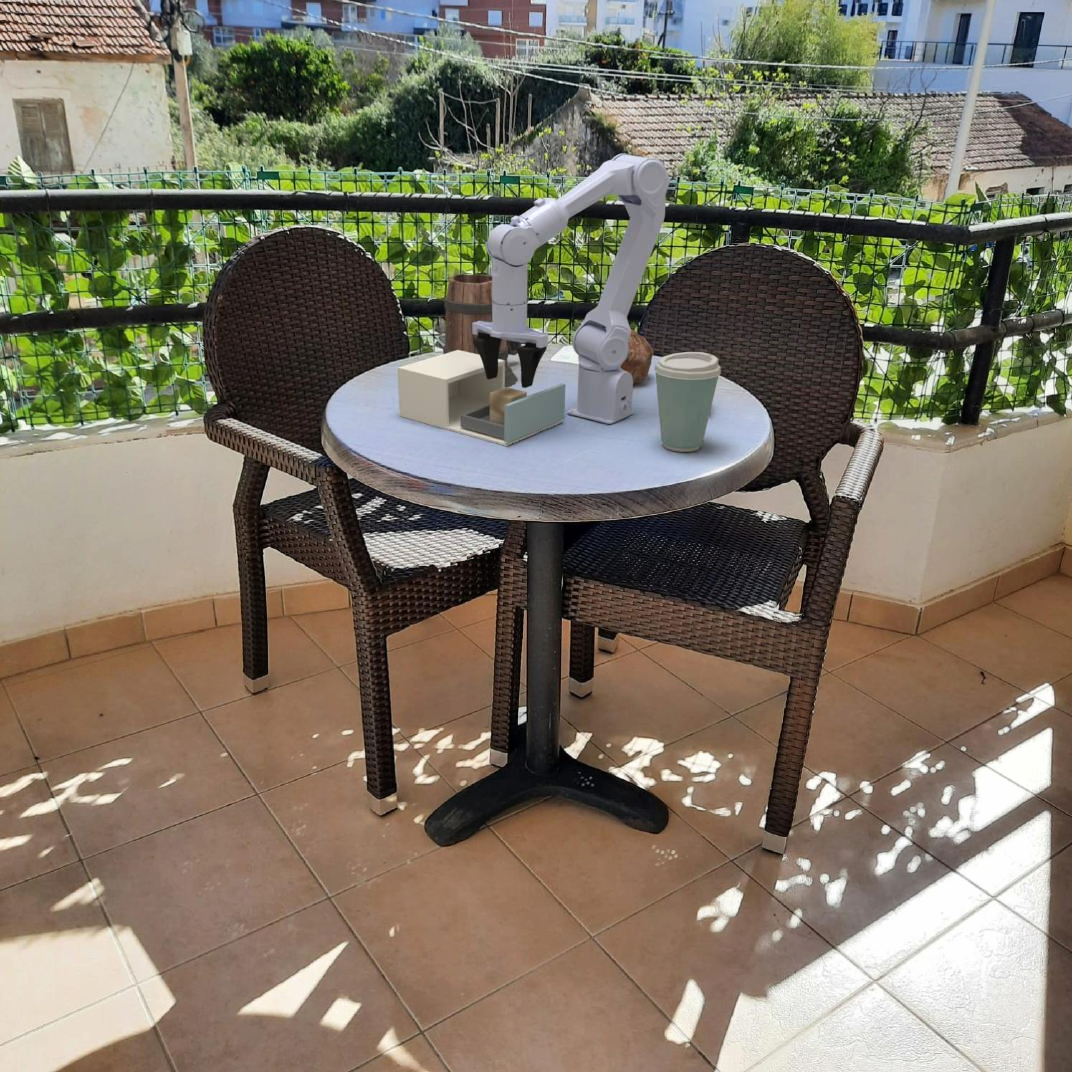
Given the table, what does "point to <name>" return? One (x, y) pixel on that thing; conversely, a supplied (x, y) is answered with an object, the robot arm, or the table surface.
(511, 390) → the birch block
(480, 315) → the tankard
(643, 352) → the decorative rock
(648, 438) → the table surface
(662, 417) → the disposable coffee cup
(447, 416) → the console box
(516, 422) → the teal drawer
